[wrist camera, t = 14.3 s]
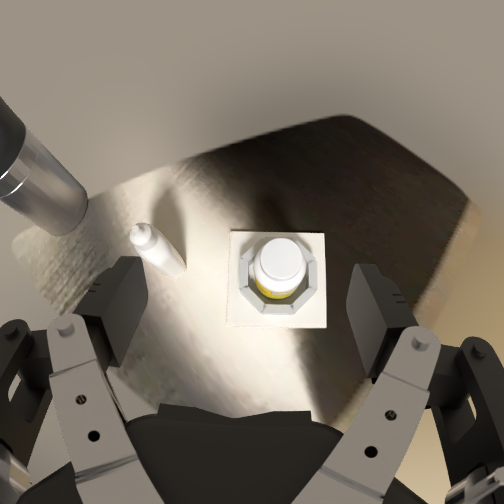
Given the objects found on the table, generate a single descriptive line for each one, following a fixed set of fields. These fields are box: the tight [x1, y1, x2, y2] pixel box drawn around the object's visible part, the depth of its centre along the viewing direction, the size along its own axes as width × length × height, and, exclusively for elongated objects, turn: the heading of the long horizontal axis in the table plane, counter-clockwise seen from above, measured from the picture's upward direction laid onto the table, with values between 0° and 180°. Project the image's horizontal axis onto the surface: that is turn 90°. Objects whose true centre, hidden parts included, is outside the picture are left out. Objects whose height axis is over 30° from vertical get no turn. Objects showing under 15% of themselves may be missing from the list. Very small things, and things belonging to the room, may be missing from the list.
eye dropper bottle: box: [130, 223, 186, 280], centre depth 34 cm, size 4×6×12 cm
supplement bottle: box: [253, 238, 306, 300], centre depth 34 cm, size 5×5×10 cm
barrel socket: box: [226, 231, 326, 328], centre depth 37 cm, size 12×12×3 cm
